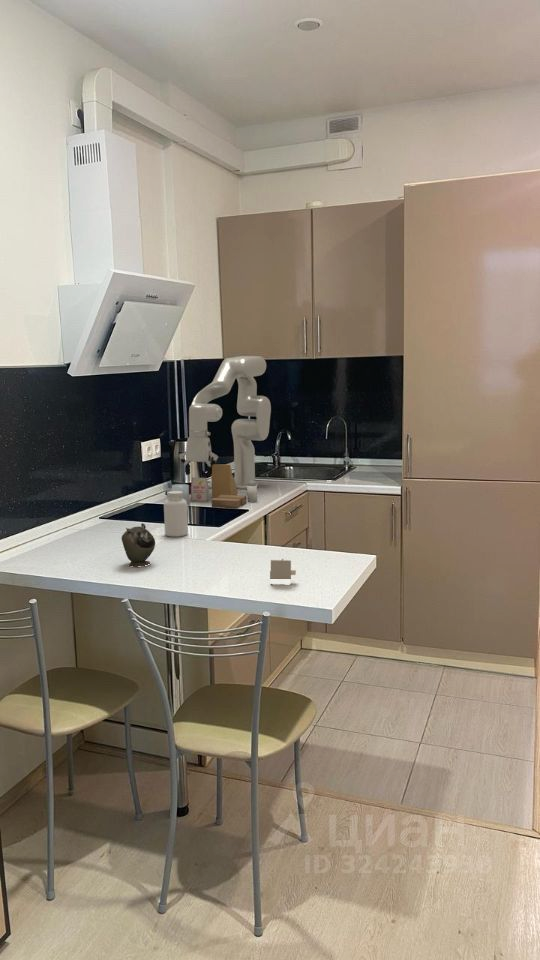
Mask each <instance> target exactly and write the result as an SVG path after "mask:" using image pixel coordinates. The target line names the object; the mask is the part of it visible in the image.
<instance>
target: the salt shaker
mask: <svg viewBox="0 0 540 960" xmlns="http://www.w3.org/2000/svg"><path fill="white" fill-rule="evenodd" d="M256 483H257V482H256V480H255V481H249V482H248V484H247V489H246V490H247V493H246V496H247V502H248V503H250V502H251V504H252V503H257V502H258V487H257V484H256Z"/></svg>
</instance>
